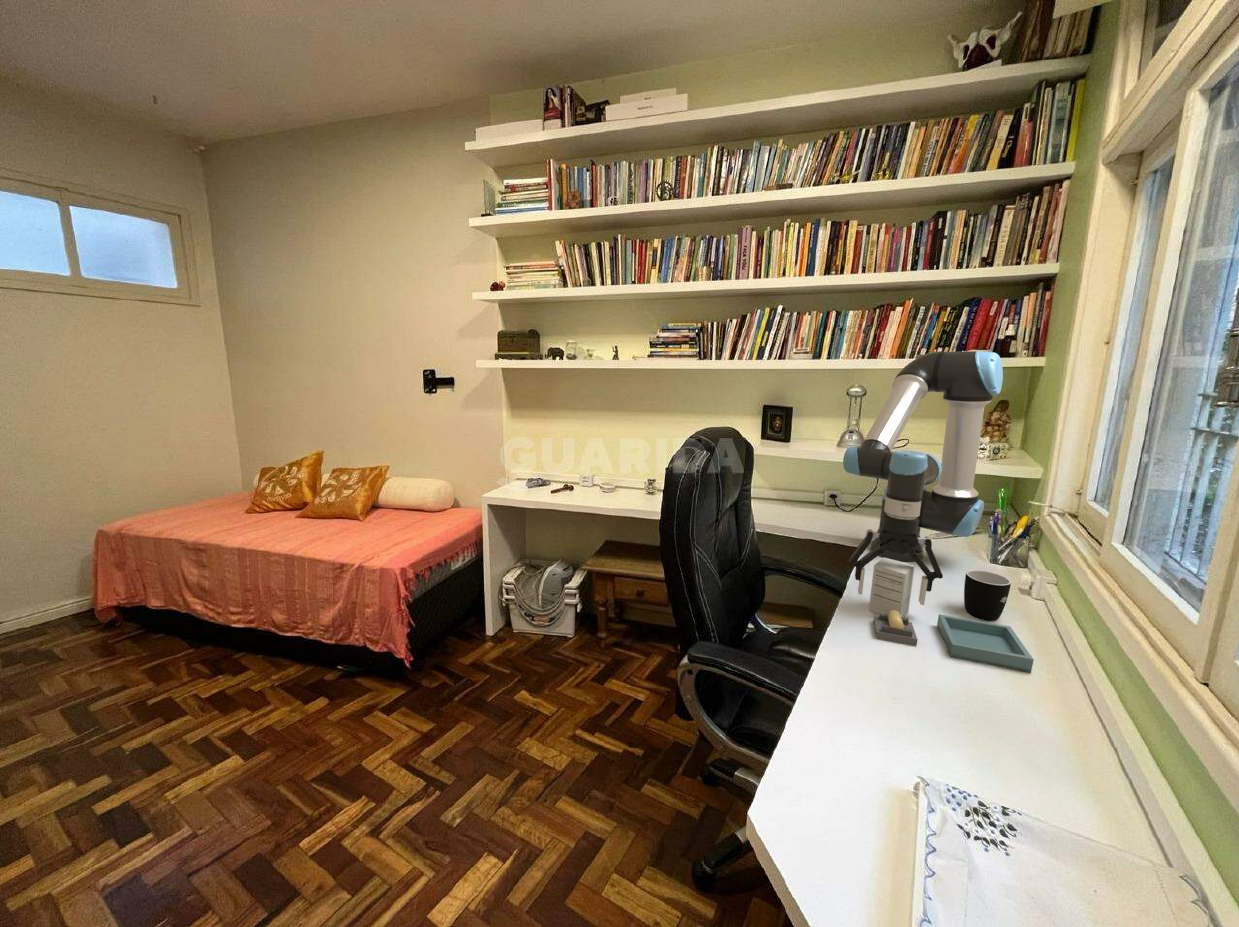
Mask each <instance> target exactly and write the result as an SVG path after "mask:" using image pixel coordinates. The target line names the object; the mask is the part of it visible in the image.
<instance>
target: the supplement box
mask: <svg viewBox="0 0 1239 927" xmlns="http://www.w3.org/2000/svg"><path fill="white" fill-rule="evenodd" d="M914 574H915V564H911V563H907V562H905V561H898V560H893V559H888V558H885V557H882V558H881V559H880V560H879V561H877V562H876V563H875V564H874V565H873V573H872V578H871V579H872V582H871V589H870V597H869V607H868V612H870V613H872V614H875V615H876V616H879V613H882V614H887V613H888V612H889V611H890V610H896V611H898V612H899V613H900V615H901V617H905V616H906V615H907V614H908V613H909V610H910V603H911V595H912V588H913V582H914V581H913V580H914Z"/></svg>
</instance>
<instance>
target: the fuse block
mask: <svg viewBox="0 0 1239 927" xmlns="http://www.w3.org/2000/svg"><path fill="white" fill-rule="evenodd" d="M872 623H873V629H874V634H875V639H877V640H883V641H887V642H893V643H900V644H903V645H909V646H915V647H917V644H918V640H919V639H918V636H917V634H916V631H915V628H914V625H913V622H911V621H910V620H909V617H905V616H904V617H901V615H900V613H899V612H898V611H896V610H890V611H889V612H888V613H887V614H882V613H879V615H873V620H872Z"/></svg>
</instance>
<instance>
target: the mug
mask: <svg viewBox="0 0 1239 927" xmlns="http://www.w3.org/2000/svg"><path fill="white" fill-rule="evenodd" d="M964 578H965V579H964V586H963V603H964V610H965V612H966V613H967V614H968V615H969V616H971V617H973V618H974V619H977V620H979V621H983V622H995V621H997V620H998V619H1000V617H1001V615H1002V614H1003V611H1004V609H1005V606H1006V603H1007V601H1008V598H1009V593H1010V589H1011V584H1012V581H1011V580H1010V579H1009V578H1007V577H1006V576H1004V575H1002V574H999V573H996V572H993V571H988V570H982V569H970V570H968V571H966V572H965V577H964Z"/></svg>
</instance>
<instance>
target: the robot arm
mask: <svg viewBox="0 0 1239 927" xmlns="http://www.w3.org/2000/svg"><path fill="white" fill-rule="evenodd" d="M1003 370H1004V369H1003V362H1002V359H1001V357H1000V355H999V354H998V353H996V352H994V351H982V350H981V351H980V350H972V351H970V350H968V351H967V350H966V351H964V350H963V351H933V352H928V353H925V354H923V355H921V356H918V357H917V358H915V359H912V361H910V362H908V364H906V365H905V366H904V367H903V368H902V369H901V370H900V371H899V372H898V373H897V374H896V376H895V378H894V379H893V381H892V383H891V388H892V390H891V391H890V394H889V395H888V397H887V399H886V401H885V403H884V404H883V406H882V407H881V409H880V411H879V413H878V415H877V417H876V418H875V420H874V422H873V424H872V425H871V427H870V429H869V431H868V432H867V434H866V435H865V438H864V439H863V441H862V443H861V445H860V446H857V445H856V446H850V447H848V448H846V449H845V453H844V455H843V458H842V466H843V469H844V471H845V472H846V473H848V474H852V475H855V476H859V477H868V478H872V479H873V478H874V479H880V480H884V481H885V480H886V481H887V485H886V486H885V488H884V489H883V496H882V497H881V500H882V501H881V509H880V517H879V525H878V529H877V530H876V531H873V530H872V529H867V530H866V533H865V536H864V538H863V540H862V541H861V542H860V544H859V545H858V546H857V547H856V549H855V550H854V552H853V553H852V554H851V555H850V557H849V558H848V563H849V565H850V566H853V567H854V568H855V571H854V579H855V581H858V586H857V592H858V595H863V591H864V590H863V588H864V581H865V573H866V567H865V566H866V565H868V564H869V563H871V562H872V561H873V560H875V559H876V558H877V557H878V556H880V557H882V558H888V559H892V560H896V561H900V562H915V564H916V565H918V567H919V569H920V570H921V571H922V572H923V574H922V575H921V582H920V588H919V595H918V596H919V597H918V602H919V604H920V606H921V605H922V606H925V603H926V597H927V592H931V591H932V589H933V584H934V583H933V581H935V579H943V577H944V575H943V573H942V571H941V568H940V565H939V563H938V561H937V558H936V556H935V554H934V552H933V549H932V547H933V546H932V545H933V544H932V540H931V538H930V537H929V536H924V537H921V535H920V534H921V529H926V530H930V531H935V532H939V533H944V534H947V535H951V536H959V537H963V538H968V537H971V536H972V535H973V534H974V532H975V531H976V529H977V528H978V525H979V523H980V521H981V518H982V515H983V513H984V510H985V502H984V501H983V500H982V499H979V491H978V490H976V488H974V483H975V477H976V476H975V475H976V468H977V462H978V455H979V449H980V448H979V447H980V442H981V433H982V428H983V421H984V420H983V419H984V412H985V406H987V405H989V404H990V403H991V402H992V401H993V397H995V396H997V395H1000V393H1001V391H1002V387H1003V386H1002V385H1003V380H1004V371H1003ZM933 392H935V393H943V396H942V400H943V401H944V402H945V403H946V404H947V413H946V414H947V415H946V423H945V429H944V438H943V447H942V454H941V460H939V459H938V457H936V456H935V455H932V454H930V453H929V454H928V453H924V452H922V451H915V450H907V449H905V450H904V449H903V450H902V449H901V450H896V451H893V449H894V447H895V445H896V444H897V442H898V440H899V438H900V437H901V434H902V432H903V430H904V428H905V427H906V425H907V423H908V422H909V420H910V418H911V416H912V414H913V412H914V410H915V409H916V407H917V405H918V404H919V401H920V400H922V399H924V398H925V397H926V396H927V394H928V393H933ZM937 480H938V484H936V485H934V486H933V487H931V491H928V490H927V489H928V488H927V485H931V484H933V483H934V482H936V481H937ZM869 546H870V551H869V552H868V553H865V555H864V556H862V555H863V554H864V552H866V550H867V549H868V548H869ZM924 550H925V552H926V554H927V557H928V560H929V561H930V564H931V566H932V569H933V571H932V570H930V569H929V567H928V566H927V565H926V563H925V562H924V561H923V557H924ZM861 556H862V557H861Z"/></svg>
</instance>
